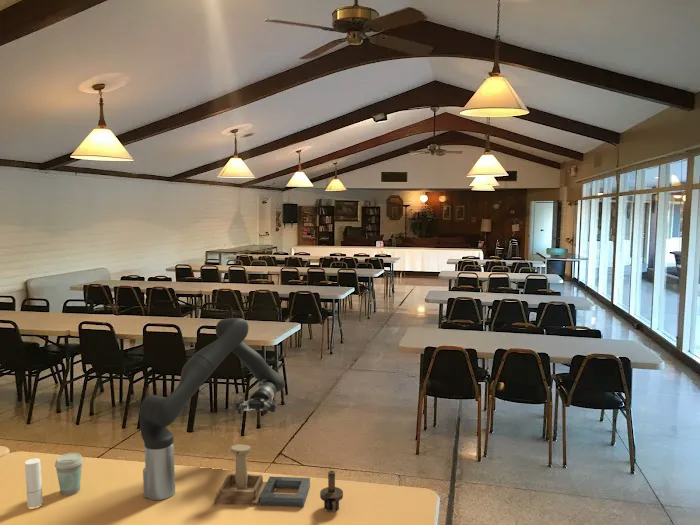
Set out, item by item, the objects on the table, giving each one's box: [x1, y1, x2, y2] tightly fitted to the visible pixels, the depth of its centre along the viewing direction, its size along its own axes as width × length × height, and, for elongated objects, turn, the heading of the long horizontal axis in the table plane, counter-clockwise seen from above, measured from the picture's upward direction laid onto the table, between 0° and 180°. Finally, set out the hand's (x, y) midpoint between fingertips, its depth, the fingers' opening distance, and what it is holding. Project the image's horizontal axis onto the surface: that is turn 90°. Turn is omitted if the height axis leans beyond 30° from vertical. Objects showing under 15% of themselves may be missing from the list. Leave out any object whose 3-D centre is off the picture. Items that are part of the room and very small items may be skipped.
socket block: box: [259, 476, 311, 508], centre depth 194 cm, size 14×14×3 cm
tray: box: [214, 473, 267, 506], centre depth 195 cm, size 14×14×4 cm
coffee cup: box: [54, 452, 84, 496], centre depth 196 cm, size 8×9×12 cm
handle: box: [230, 444, 252, 490], centre depth 195 cm, size 5×6×15 cm
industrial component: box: [319, 470, 344, 513], centre depth 186 cm, size 9×7×12 cm
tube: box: [24, 457, 44, 508], centre depth 187 cm, size 4×4×15 cm
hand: (251, 412), depth 206 cm, fingers open, 8 cm apart
